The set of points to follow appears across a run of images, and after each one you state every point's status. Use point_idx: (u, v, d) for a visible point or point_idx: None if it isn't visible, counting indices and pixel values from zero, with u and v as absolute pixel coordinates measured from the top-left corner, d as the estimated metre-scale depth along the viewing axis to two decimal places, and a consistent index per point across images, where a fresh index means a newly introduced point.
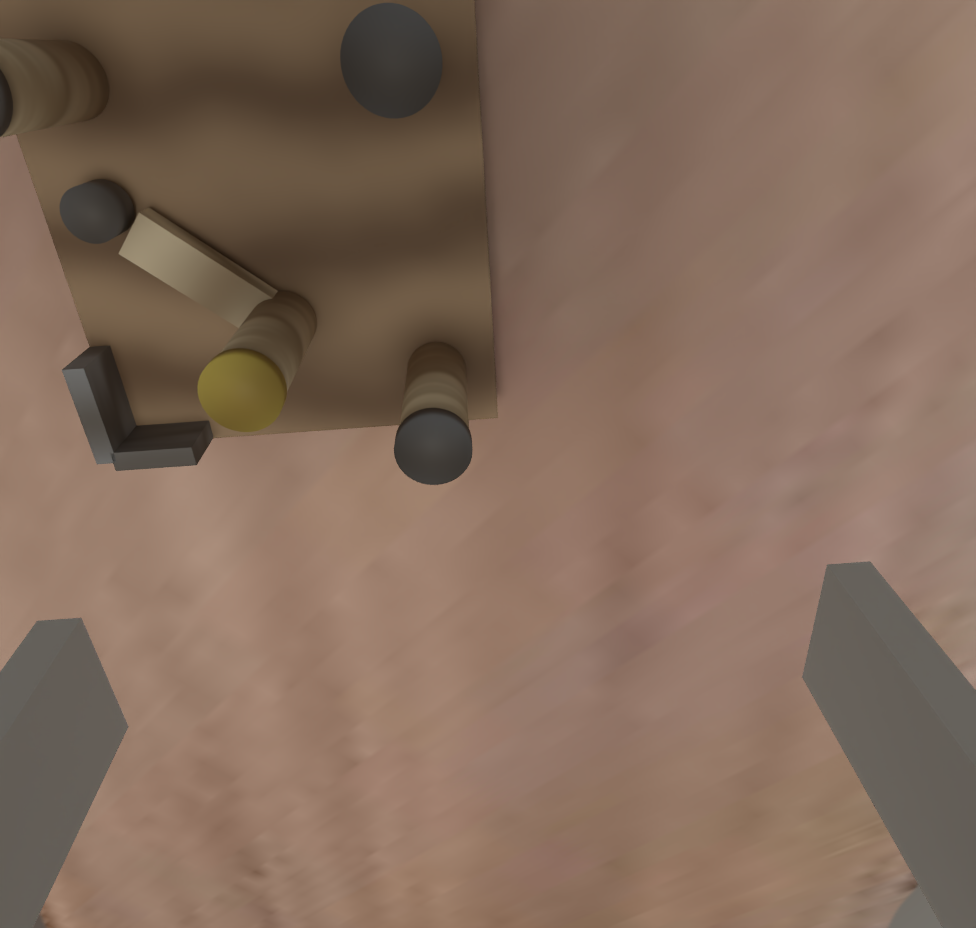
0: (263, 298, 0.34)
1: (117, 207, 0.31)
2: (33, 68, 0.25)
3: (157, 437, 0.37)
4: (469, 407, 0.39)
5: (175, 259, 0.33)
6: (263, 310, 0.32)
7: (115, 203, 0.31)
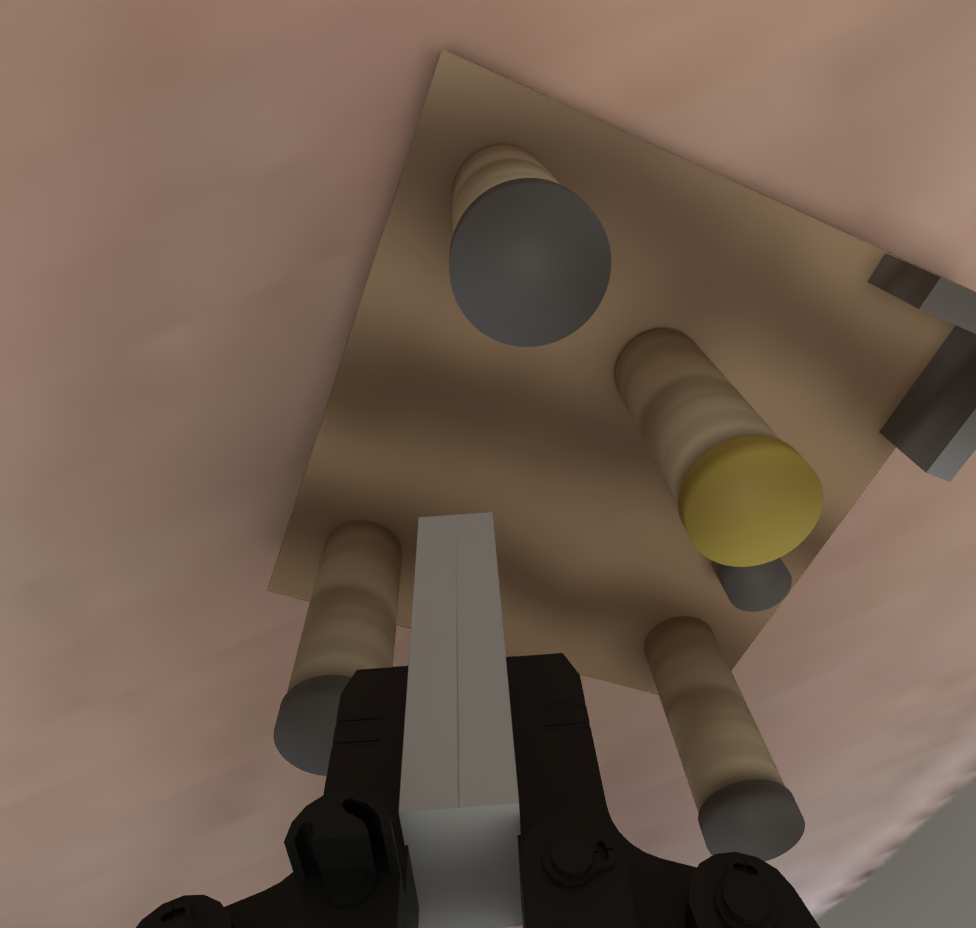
0: None
1: (727, 579, 0.27)
2: (682, 754, 0.26)
3: None
4: (481, 98, 0.21)
5: None
6: None
7: (726, 582, 0.27)
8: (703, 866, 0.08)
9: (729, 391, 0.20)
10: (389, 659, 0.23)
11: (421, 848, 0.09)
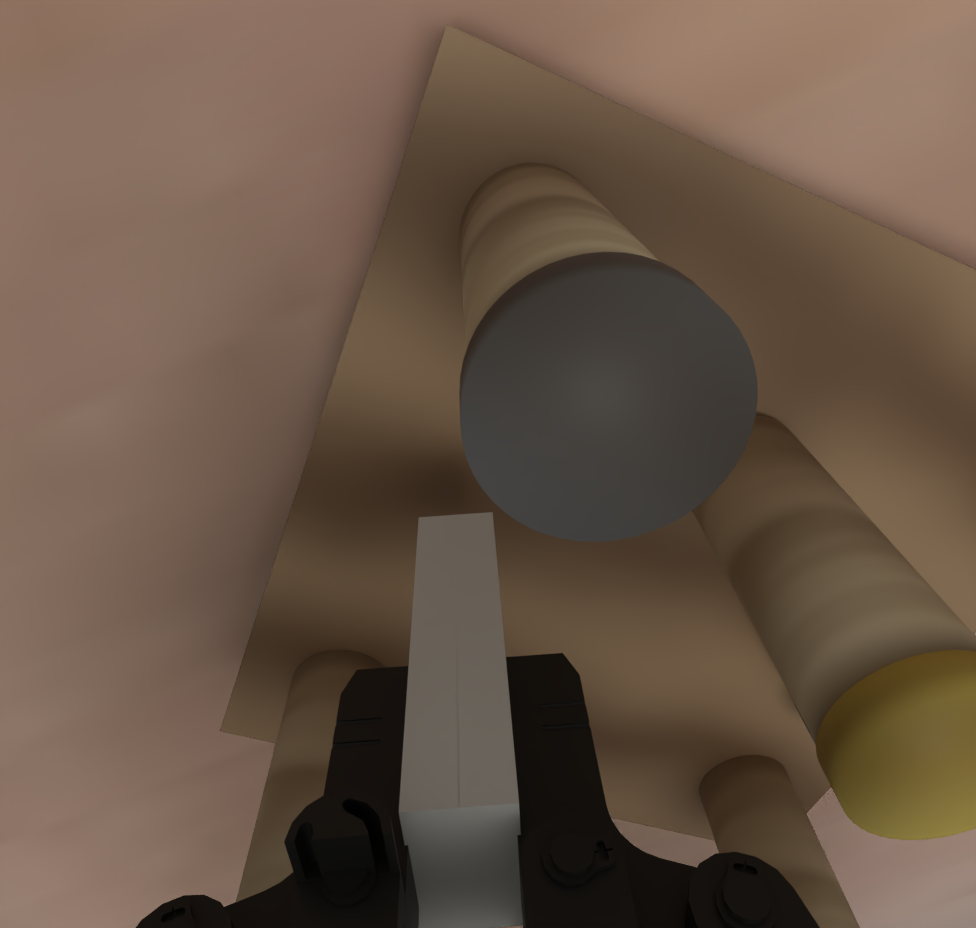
0: None
1: None
2: None
3: None
4: (504, 98, 0.14)
5: None
6: None
7: None
8: (702, 866, 0.08)
9: (875, 539, 0.13)
10: None
11: (421, 848, 0.09)
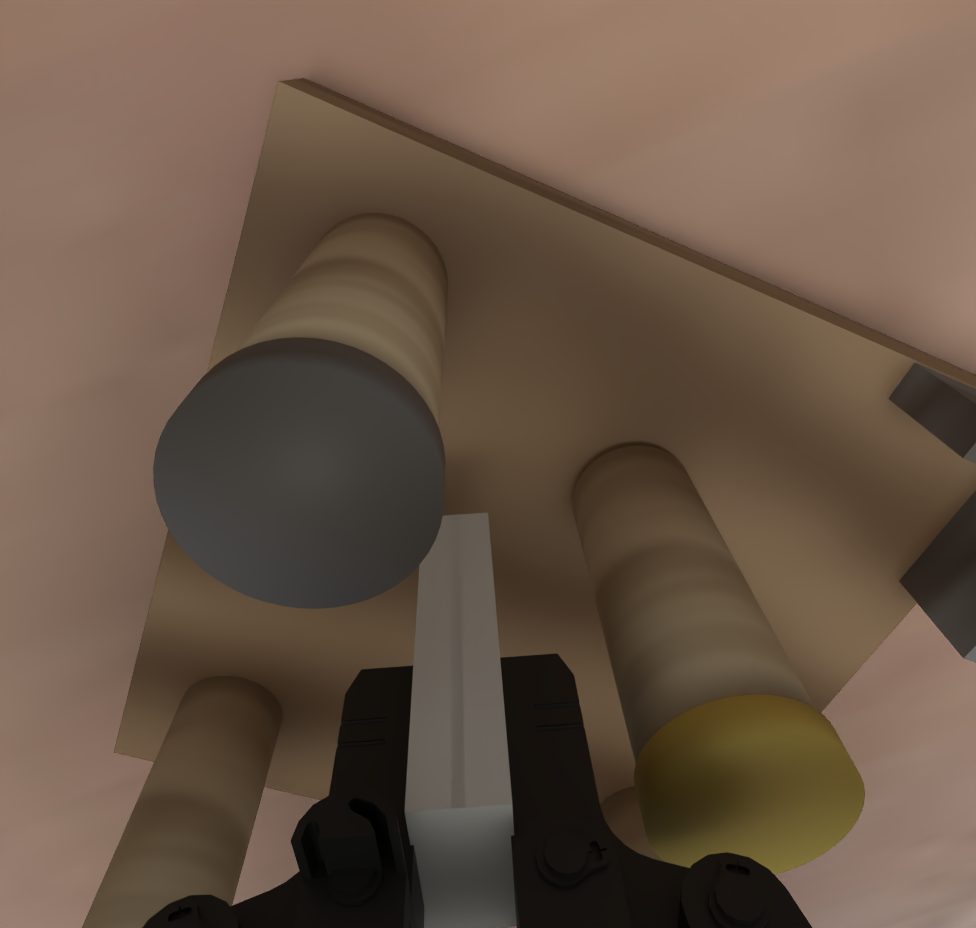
0: None
1: None
2: None
3: None
4: (341, 151, 0.15)
5: None
6: None
7: None
8: (696, 868, 0.08)
9: (727, 579, 0.13)
10: None
11: (427, 848, 0.09)
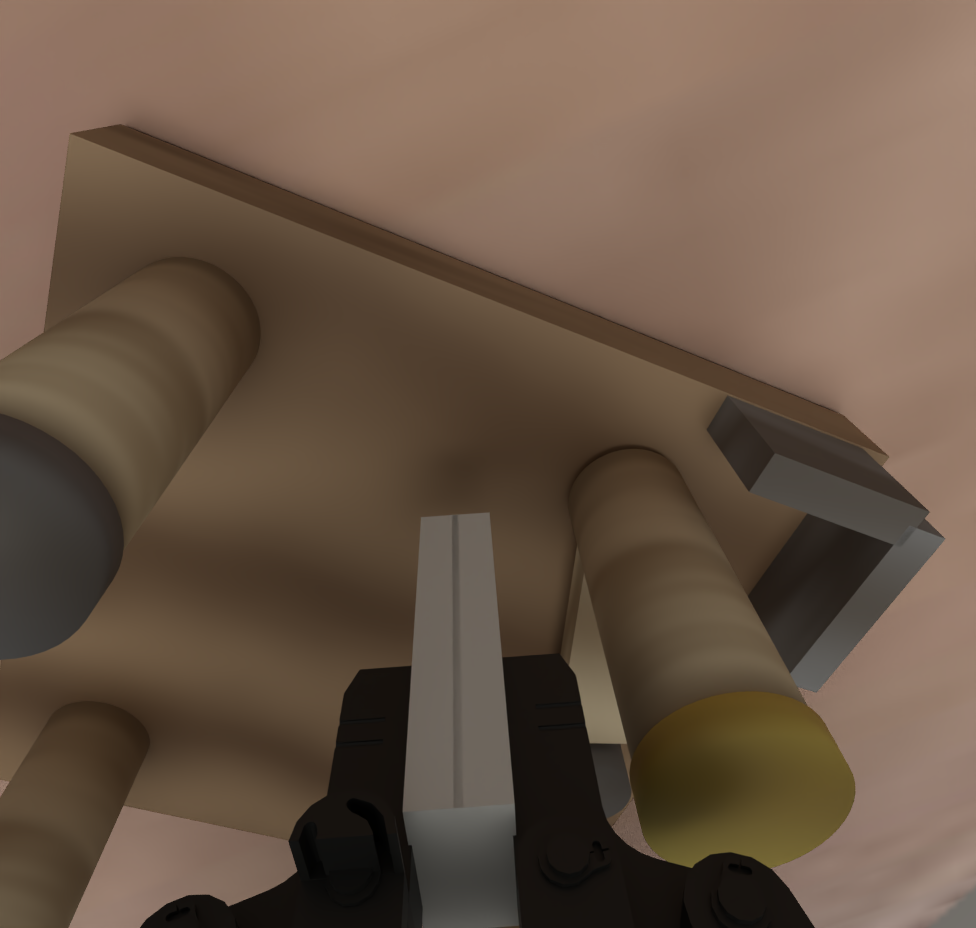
0: None
1: None
2: None
3: None
4: (139, 199, 0.15)
5: (599, 689, 0.20)
6: None
7: None
8: (698, 867, 0.08)
9: (746, 596, 0.14)
10: None
11: (425, 848, 0.09)
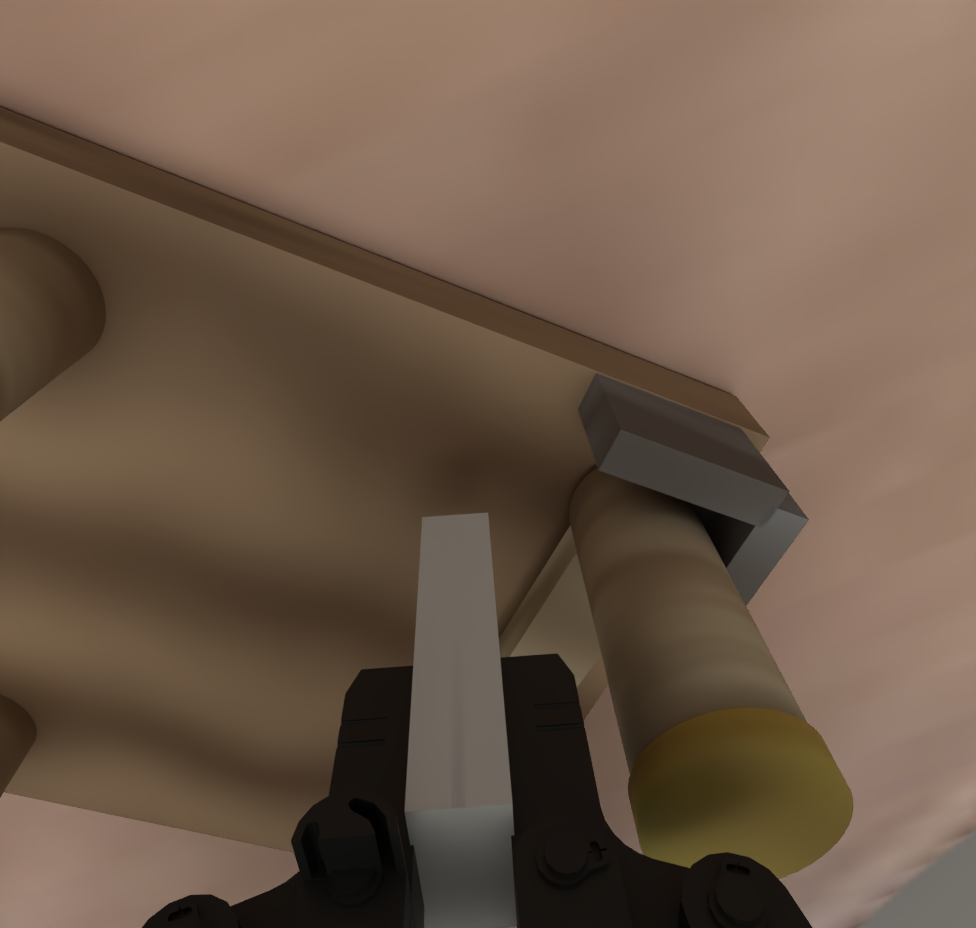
0: (579, 566, 0.18)
1: None
2: None
3: None
4: None
5: None
6: None
7: None
8: (696, 867, 0.08)
9: None
10: None
11: (427, 848, 0.09)
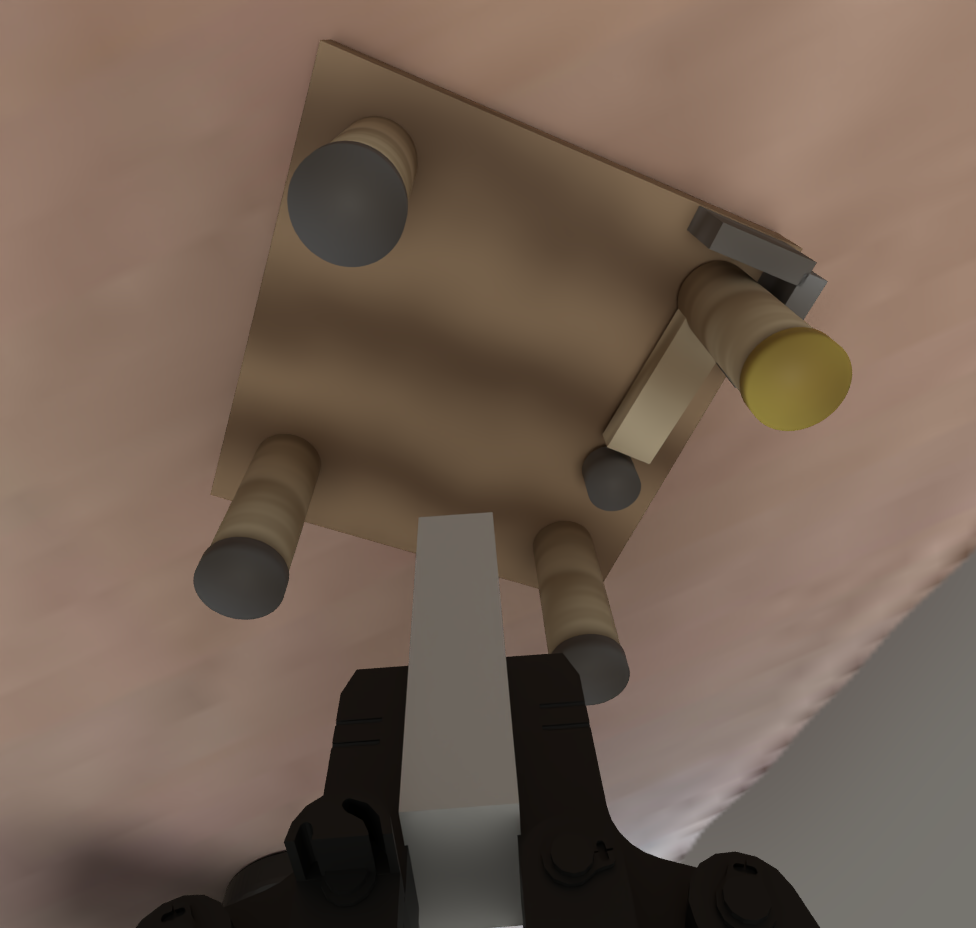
0: (686, 328, 0.30)
1: (604, 466, 0.32)
2: (544, 623, 0.32)
3: None
4: (355, 79, 0.26)
5: (650, 415, 0.32)
6: (698, 334, 0.28)
7: (600, 467, 0.32)
8: (703, 867, 0.08)
9: None
10: (292, 533, 0.28)
11: (421, 848, 0.09)
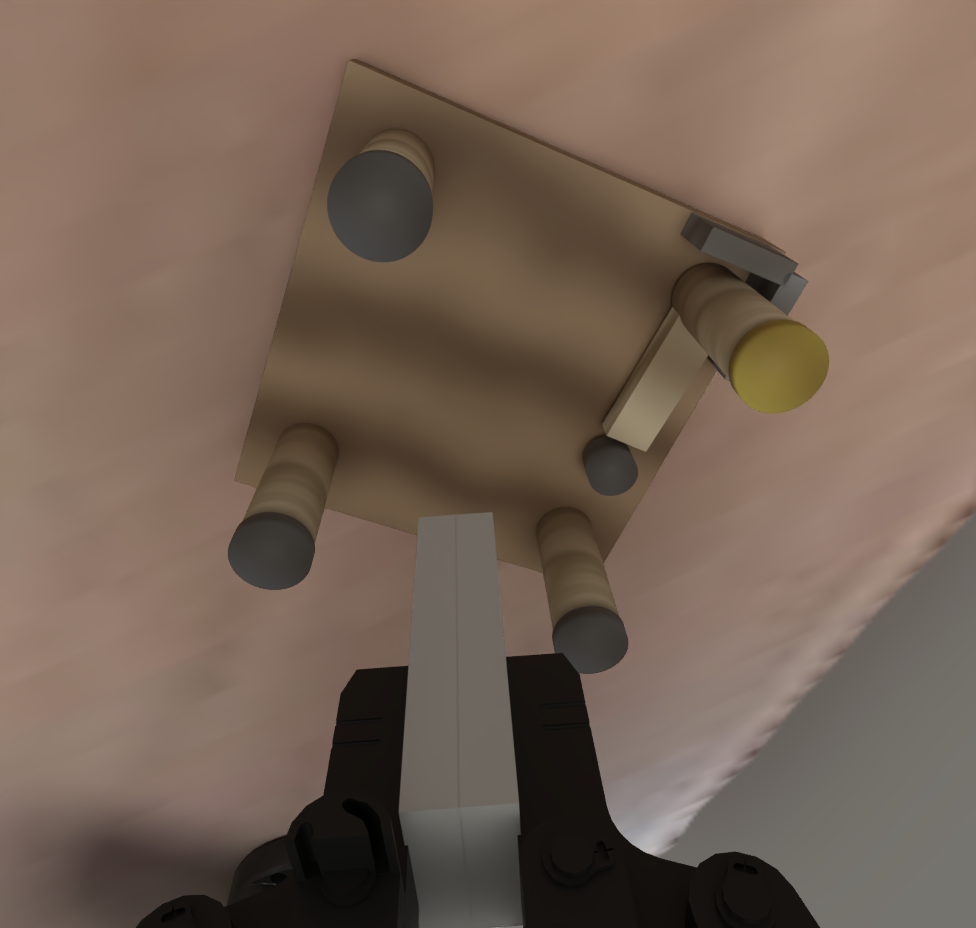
0: (680, 324, 0.32)
1: (603, 453, 0.35)
2: (548, 599, 0.34)
3: None
4: (379, 95, 0.29)
5: (646, 405, 0.34)
6: (691, 329, 0.30)
7: (600, 454, 0.35)
8: (702, 866, 0.08)
9: None
10: (317, 511, 0.31)
11: (421, 848, 0.09)
